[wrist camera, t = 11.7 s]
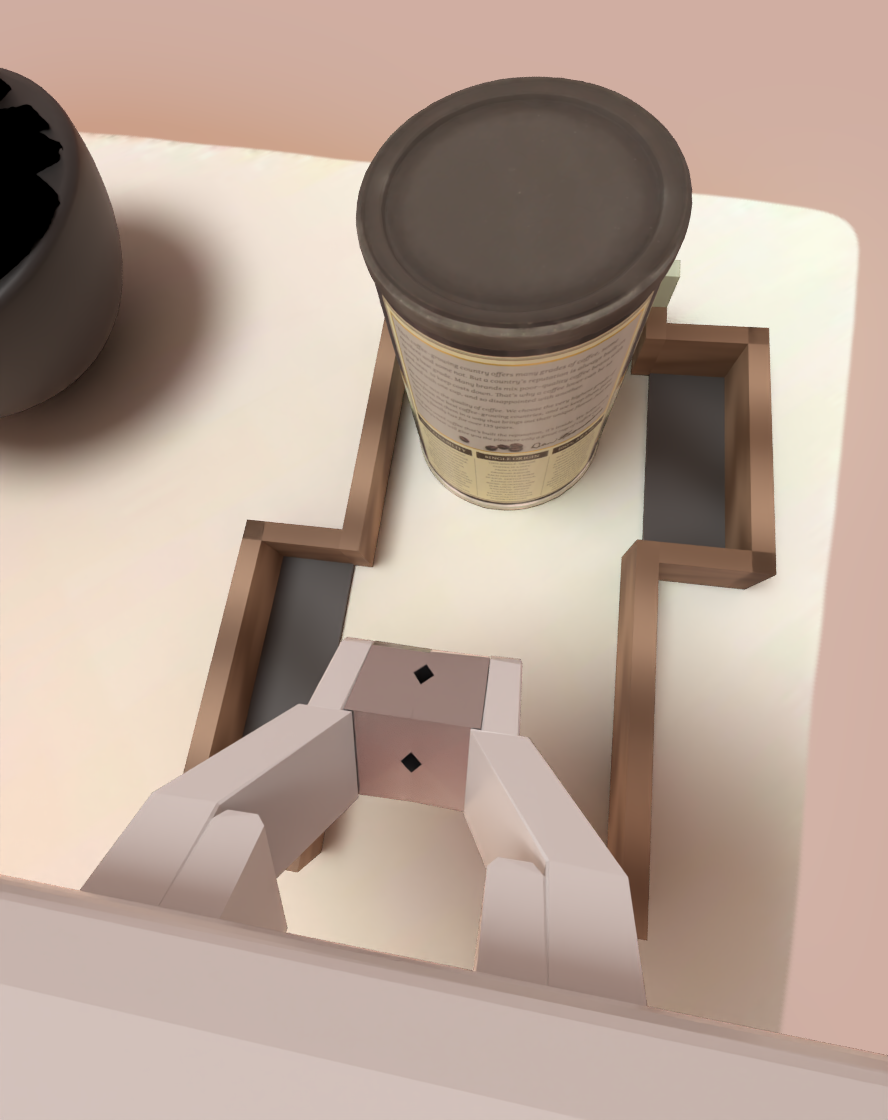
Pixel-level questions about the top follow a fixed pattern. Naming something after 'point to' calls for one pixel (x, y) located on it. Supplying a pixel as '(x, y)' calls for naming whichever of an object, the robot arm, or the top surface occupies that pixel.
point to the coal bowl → (50, 249)
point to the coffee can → (520, 273)
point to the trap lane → (663, 554)
